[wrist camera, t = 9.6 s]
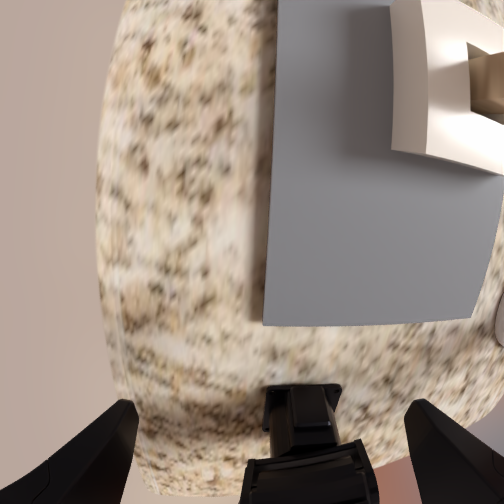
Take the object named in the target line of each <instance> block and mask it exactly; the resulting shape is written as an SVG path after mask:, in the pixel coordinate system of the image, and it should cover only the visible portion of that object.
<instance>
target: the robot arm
mask: <svg viewBox="0 0 504 504" xmlns="http://www.w3.org/2000/svg"><path fill="white" fill-rule="evenodd" d="M336 389H337V390H336ZM271 391H274V392H271ZM341 392H342V387H341V385H339V384H332V385H310V386H270V387H268V388H267V389H266V397H265V406H264V415H263V423H262V430H263V431H264V432H270V456H271V458H266V459H257V460H256V459H248V464H247V467H246V468H245V474H244V480H243V485H242V491H241V497H240V501H239V503H238V504H379V491H378V485H377V481H376V477H375V474H374V471H373V468H372V466H371V463H370V461H369V458H368V455H367V453H366V450H365V448H364V445H363V443H362V440H361V439H357V440H354V442H350V443H346V444H342V445H341V441H340V437H339V433H338V429H337V424H336V420H335V416H334V412H335V409H336V407H337V404H338V401H339V398H340V395H341ZM138 424H139V416H138V413H137V411H136V408H135V405H134V403H133V401H131V400H126V399H120V400H118V401H117V402H116V403H115V404H114V405H112V406H111V407H110V408H109V409H108V410H106V411H105V412H104V413H103V414H102V415H100V416H99V417H98V418H97V419H96V420H95V421H93V422H92V423H91V424H90V425H88V426H87V427H86V428H85V429H84V430H82V431H81V432H80V433H79V434H78V435H76V436H75V437H74V438H73V439H71V440H70V441H69V442H68V443H67V444H65V445H64V446H63V447H62V448H60V449H59V450H58V451H57V452H56V453H54V454H53V455H52V456H51V457H49V458H48V460H45V461H44V462H43V463H42V464H40V465H39V466H38V467H36V468H35V469H34V470H32V471H31V472H30V473H28V474H27V475H25V476H23V477H22V478H20V479H19V480H17V481H15V482H14V483H12V484H10V485H8V486H7V487H5V488H3V489H1V490H0V504H120V502H121V498H122V495H123V491H124V488H125V484H126V481H127V477H128V473H129V470H130V467H131V463H132V459H133V453H134V447H135V441H136V435H137V429H138ZM404 424H405V429H406V435H407V440H408V446H409V452H410V457H411V461H412V465H413V469H414V472H415V476H416V480H417V484H418V488H419V492H420V496H421V500H422V504H504V457H503V456H501V455H500V454H498V453H497V452H496V451H494V450H492V449H491V448H490V447H489V446H487V445H486V444H485V443H483V442H482V441H481V440H479V439H478V438H477V437H475V436H474V435H473V434H471V433H470V432H469V431H467V430H466V429H465V428H463V427H462V426H460V425H459V424H458V423H456V422H455V421H454V420H452V419H451V418H450V417H448V416H447V415H446V414H444V413H443V412H442V411H440V410H439V409H438V408H436V407H435V406H434V405H432V404H431V403H430V402H429V401H427V400H426V399H417V400H414V401H413V402H412V403H411V405H410V407H409V408H408V410H407V412H406V414H405V416H404Z"/></svg>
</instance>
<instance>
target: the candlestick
mask: <svg viewBox="0 0 504 504" xmlns="http://www.w3.org/2000/svg"><path fill="white" fill-rule="evenodd" d="M495 334H496V338H497V340H498V342H499V343H500V344H501V345H502V346H504V293H503V296H502V299H501V301H500V304H499V308H498V311H497V316H496V321H495Z"/></svg>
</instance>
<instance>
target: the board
mask: <svg viewBox="0 0 504 504" xmlns="http://www.w3.org/2000/svg"><path fill="white" fill-rule="evenodd" d="M394 1H395V0H278V3H277V39H276V69H275V95H274V119H273V141H272V162H271V182H270V201H269V219H268V236H267V253H266V269H265V285H264V301H263V315H262V321H263V326H364V325H388V324H405V323H420V322H432V321H444V320H454V319H464V318H471V315H472V313H473V310H474V307H475V305H476V302H477V299H478V296H479V293H480V290H481V287H482V284H483V281H484V278H485V275H486V271H487V268H488V264H489V261H490V257H491V253H492V249H493V245H494V241H495V237H496V232H497V228H498V223H499V218H500V212H501V206H502V200H503V194H504V177H501V176H498V175H495V174H491V173H488V172H485V171H481V170H478V169H474V168H471V167H467V166H463V165H459V164H456V163H452V162H448V161H443V160H439V159H435V158H431V157H426V156H421V155H417V154H412V153H407V152H401V151H396V150H391V144H392V127H393V95H394V75H393V44H392V29H391V17H390V7H389V6H390V5H391V4H392V3H393V2H394Z"/></svg>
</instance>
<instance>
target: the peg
mask: <svg viewBox="0 0 504 504" xmlns="http://www.w3.org/2000/svg"><path fill="white" fill-rule="evenodd" d="M468 63H469V76H470V111H472V112H474V113H476V114H504V52H500V53H495V54H491V55H486V56H482V57H478V58H474V59H470V60H468Z"/></svg>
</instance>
